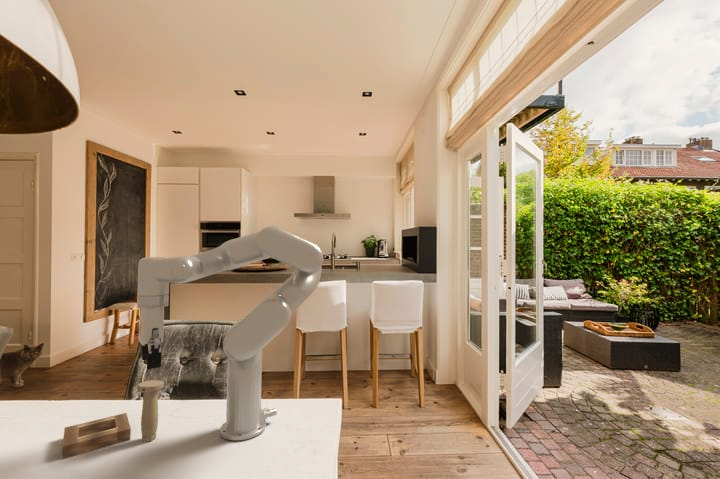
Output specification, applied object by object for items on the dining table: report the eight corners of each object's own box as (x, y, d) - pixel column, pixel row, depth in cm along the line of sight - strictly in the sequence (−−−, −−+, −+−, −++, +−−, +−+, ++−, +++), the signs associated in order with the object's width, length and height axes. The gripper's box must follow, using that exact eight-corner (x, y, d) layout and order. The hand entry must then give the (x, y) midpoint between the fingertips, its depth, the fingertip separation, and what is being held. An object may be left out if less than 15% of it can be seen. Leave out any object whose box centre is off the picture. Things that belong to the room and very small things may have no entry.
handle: (151, 445, 89) (153, 387, 90) (131, 442, 90) (133, 385, 91) (165, 436, 94) (167, 381, 95) (146, 433, 95) (148, 379, 96)
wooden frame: (126, 423, 101) (126, 412, 101) (130, 439, 92) (130, 427, 92) (64, 438, 92) (64, 426, 93) (61, 459, 83) (62, 445, 83)
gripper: (133, 299, 99) (131, 358, 98) (141, 306, 85) (138, 375, 84) (163, 297, 103) (161, 354, 102) (174, 303, 90) (172, 368, 89)
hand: (151, 363), depth 93 cm, fingers open, 9 cm apart
